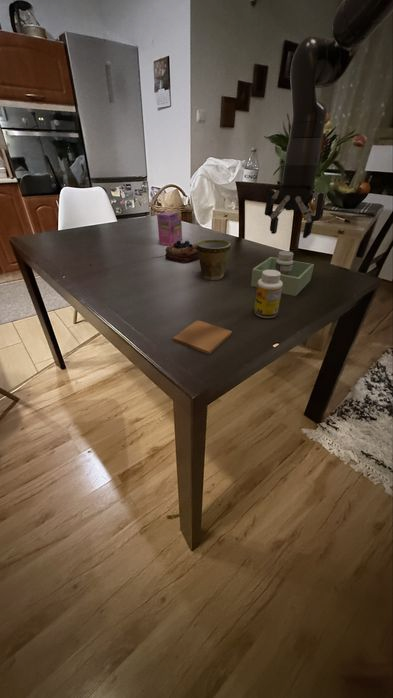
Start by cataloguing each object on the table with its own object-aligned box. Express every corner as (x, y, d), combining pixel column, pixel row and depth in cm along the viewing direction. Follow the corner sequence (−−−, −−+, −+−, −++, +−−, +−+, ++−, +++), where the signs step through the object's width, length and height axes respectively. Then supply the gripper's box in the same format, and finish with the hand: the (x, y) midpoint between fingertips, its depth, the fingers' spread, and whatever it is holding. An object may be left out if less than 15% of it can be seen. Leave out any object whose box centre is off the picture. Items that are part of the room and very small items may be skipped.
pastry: (186, 264, 97) (185, 247, 94) (161, 258, 103) (159, 241, 100) (205, 256, 104) (205, 240, 101) (180, 251, 110) (179, 235, 107)
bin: (310, 280, 84) (314, 264, 81) (295, 296, 75) (299, 278, 72) (268, 272, 90) (270, 256, 87) (250, 286, 82) (252, 269, 79)
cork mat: (231, 334, 61) (232, 331, 60) (209, 355, 55) (209, 351, 54) (197, 322, 65) (197, 319, 64) (173, 340, 59) (172, 337, 58)
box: (171, 246, 116) (168, 214, 110) (159, 244, 118) (156, 214, 112) (182, 240, 124) (181, 210, 117) (171, 238, 126) (169, 209, 119)
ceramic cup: (232, 280, 85) (235, 246, 79) (200, 283, 83) (200, 249, 78) (220, 266, 95) (222, 235, 90) (192, 269, 94) (191, 237, 88)
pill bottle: (272, 278, 85) (276, 249, 80) (288, 278, 84) (293, 250, 79) (273, 284, 81) (278, 255, 76) (290, 285, 80) (296, 255, 75)
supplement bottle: (251, 308, 70) (256, 268, 64) (274, 308, 70) (280, 267, 64) (256, 319, 65) (261, 277, 60) (280, 319, 66) (287, 276, 60)
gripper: (337, 162, 65) (320, 235, 74) (278, 161, 71) (269, 229, 81) (329, 163, 60) (311, 242, 69) (266, 162, 66) (258, 234, 76)
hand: (288, 235), depth 75 cm, fingers open, 8 cm apart
